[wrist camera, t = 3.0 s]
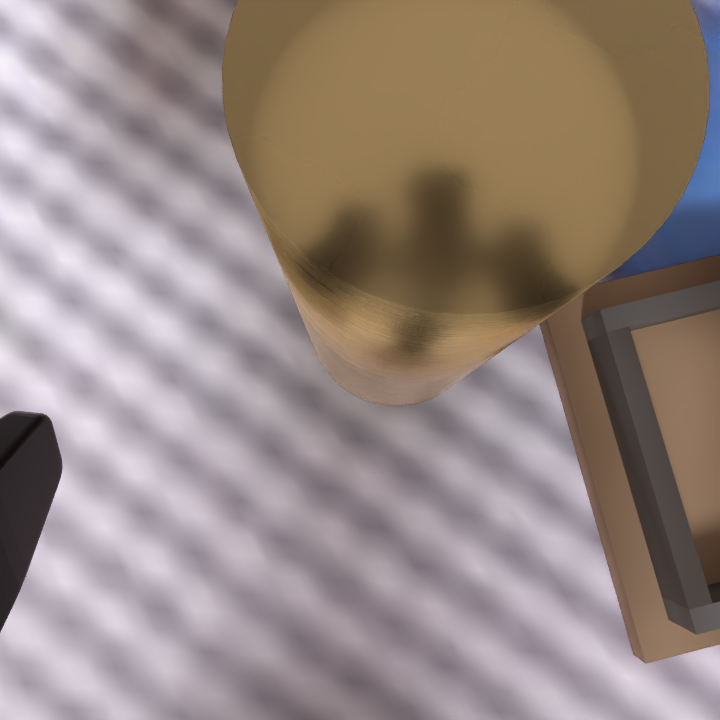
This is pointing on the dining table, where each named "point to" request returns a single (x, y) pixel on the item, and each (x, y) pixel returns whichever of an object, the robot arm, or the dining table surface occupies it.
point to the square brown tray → (650, 443)
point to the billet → (457, 165)
